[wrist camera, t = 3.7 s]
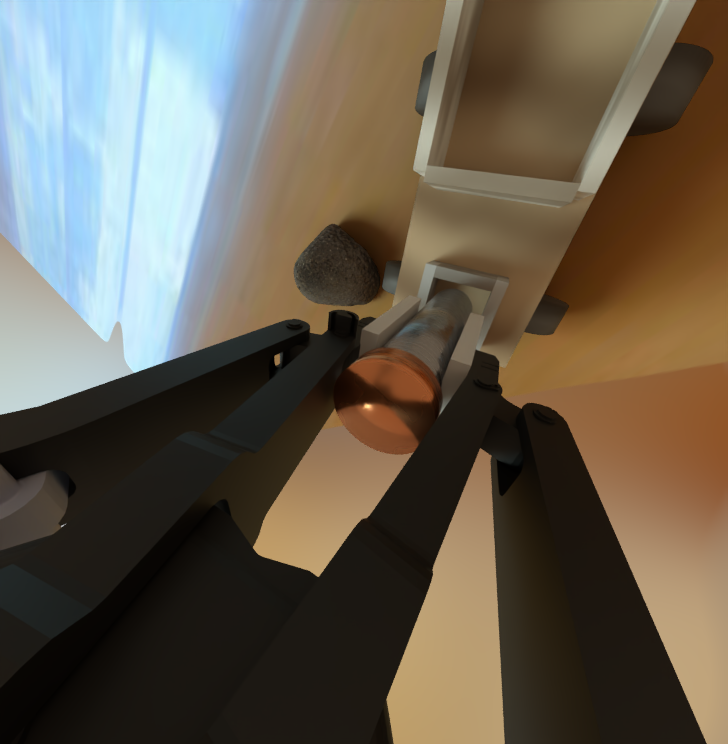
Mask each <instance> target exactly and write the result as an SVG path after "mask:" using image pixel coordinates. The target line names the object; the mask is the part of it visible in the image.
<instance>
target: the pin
mask: <svg viewBox="0 0 728 744" xmlns="http://www.w3.org/2000/svg"><path fill="white" fill-rule="evenodd" d="M470 313H472V302H471V300H470V298H469V297H468V295H467V294H466V293H464V292H463V291H461V290H458V289H452V288H451V289H445V290H442V291H440V292H439V293H438V294H436V295H435V296H434V297H433V298H432V299H431V300H430V301H429V302H428V303H427V304H426V305H425V306H424V307H423V308H422V309H421V310H420V311H419V312H418V313H417V314H415V315H414V316H413V317H412V318H411V319H410V320H409V321H408V322H407V323H406V324H405V325H404V326H403V327H402V328H401V329H400V330H399V331H398V332H397V333H396V334H395V335H394V336H393V337H392V338H390V339H389V340H388V341H387V342H386V343H385V344H384V345H383V346H382V347H381V348H376V349H372V350H370V351H367V352H366V353H364V354H362V355H361V356H360V357H359V358H358V359H357V360H356V361H354V362H353V363H352V364H351V365H350V366H349V367H348V368H346V369H345V370H344V371H343V372H342V373H341V374H340V375H339V377H338V379H337V380H336V383H335V386H334V391H333V399H334V405H335V409H336V412H337V414H338V416H339V418H340V420H341V421H342V423H343V425H344V426H345V427H346V429H347V430H348V431H349V432H350V433H351V434H352V435H353V436H354V437H355V438H357V439H358V440H359V441H360V442H362V443H364V444H365V445H367V446H369V447H370V448H373V449H375V450H377V451H380V452H384V453H389V454H408V453H412V452H414V451H415V450H416V448H417V447H418V445H419V444H420V443H421V441H422V440H423V438H424V437H425V435H426V434H427V432H428V431H429V430H430V428H431V427H432V425H433V424H434V422H435V421H436V420H437V418H438V417H439V415H440V412H441V409H442V403H443V395H442V390H441V386H442V380H443V377H444V375H445V372H446V369H447V367H448V364H449V362H450V359H451V357H452V354H453V352H454V350H455V347H456V345H457V343H458V341H459V338H460V336H461V334H462V331H463V329H464V327H465V325H466V322H467V320H468V318H469V315H470Z"/></svg>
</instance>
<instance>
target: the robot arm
mask: <svg viewBox="0 0 728 744" xmlns="http://www.w3.org/2000/svg"><path fill="white" fill-rule="evenodd" d="M420 302H421V298H418V297H414V296H410V295H409V296H408V297H406V298H405V299H404V300H402V301H401V302H399V303H398V304H397V305H395V306H394V307H392V308H391V309H390V310H388V311H387V312H385V313H384V314H383V315H381V316H380V317H378V318H377V319H376V318H373V317H366V318H362V319H361V320H359V317H358V315H356V314H355V313H353V312H350V311H345V310H334V311H331V312H329V320H328V330H327V331H326V332H325V333H324V334H322V335H319V334H313V333H310V325H309V324H308V323H306V322H304V321H301V320H298V319H292V320H285V321H282V322H279V323H276V324H273V325H270V326H267V327H265V328H262V329H259V330H256V331H253V332H250V333H247V334H245V335H242V336H239V337H236V338H233V339H230V340H227V341H225V342H222V343H219V344H216V345H213V346H210V347H207V348H205V349H202V350H199V351H196V352H193V353H190V354H187V355H185V356H182V357H179V358H176V359H173V360H170V361H167V362H165V363H162V364H159V365H156V366H153V367H150V368H147V369H145V370H142V371H139V372H136V373H133V374H130V375H128V376H125V377H122V378H119V379H116V380H113V381H110V382H107V383H105V384H102V385H99V386H96V387H93V388H90V389H87V390H85V391H82V392H79V393H76V394H73V395H70V396H67V397H64V398H62V399H59V400H56V401H53V402H50V403H47V404H45V405H42V406H39V407H34V408H30V409H25V410H21V411H16V412H12V413H7V414H2V415H0V744H393V737H392V731H391V725H390V718H389V712H388V706H387V701H386V699H387V696H388V693H389V690H390V688H391V685H392V683H393V680H394V678H395V675H396V673H397V670H398V667H399V665H400V662H401V660H402V657H403V654H404V652H405V649H406V646H407V644H408V641H409V638H410V636H411V633H412V630H413V628H414V626H415V623H416V621H417V618H418V615H419V613H420V610H421V607H422V605H423V602H424V600H425V597H426V594H427V592H428V589H429V586H430V583H431V579H432V576H433V571H432V569H433V565H434V563H435V560H436V557H437V555H438V552H439V550H440V547H441V545H442V542H443V540H444V537H445V535H446V532H447V530H448V527H449V524H450V522H451V520H452V517H453V515H454V512H455V510H456V507H457V504H458V502H459V500H460V497H461V494H462V492H463V490H464V487H465V485H466V482H467V479H468V477H469V474H470V472H471V469H472V467H473V464H474V462H475V459H476V457H477V454H478V452H479V449H480V448H481V449H483V450H484V451H486V452H487V453H489V454H490V455H492V457H491V478H492V498H493V517H494V518H493V519H494V538H495V558H496V578H497V597H498V617H499V637H500V657H501V676H502V696H503V716H504V734H505V735H504V736H505V744H707V743H706V741H705V739H704V737H703V734H702V732H701V730H700V727H699V725H698V723H697V721H696V718H695V716H694V714H693V711H692V709H691V707H690V704H689V702H688V700H687V698H686V695H685V693H684V691H683V688H682V686H681V684H680V682H679V679H678V677H677V675H676V672H675V670H674V668H673V665H672V663H671V661H670V658H669V656H668V654H667V652H666V650H665V647H664V645H663V642H662V640H661V638H660V636H659V633H658V631H657V629H656V626H655V624H654V622H653V619H652V617H651V615H650V613H649V610H648V608H647V606H646V603H645V601H644V599H643V596H642V594H641V592H640V590H639V587H638V585H637V583H636V580H635V578H634V576H633V573H632V571H631V569H630V567H629V564H628V562H627V560H626V557H625V555H624V553H623V550H622V548H621V546H620V544H619V541H618V539H617V537H616V534H615V532H614V530H613V528H612V525H611V523H610V521H609V518H608V516H607V514H606V511H605V510H604V507H603V505H602V502H601V500H600V498H599V495H598V493H597V491H596V489H595V486H594V484H593V482H592V479H591V477H590V475H589V472H588V470H587V468H586V466H585V463H584V461H583V459H582V456H581V454H580V452H579V449H578V447H577V445H576V443H575V440H574V438H573V436H572V433H571V432H570V429H569V427H568V424H567V422H566V421H565V420H564V418H563V417H562V416H560V415H559V414H558V413H557V412H556V411H555V410H552V409H551V408H549V407H546V406H543V405H540V404H535V403H527V404H525V405H524V406H523V407H522V409H521V408H519V407H517V406H515V405H513V404H512V403H510V402H508V401H507V400H506V399H505V398H503V397H502V396H501V394H502V387H501V386H500V384H498V375H499V360H498V359H497V358H496V356H494V355H491V354H488V353H485V352H482V351H479V350H476V346H477V342H478V339H479V335H480V331H481V328H482V324H483V320H484V316H482V315H478V314H475V313H470V315H469V318H468V320H467V322H466V325H465V327H464V329H463V331H462V334H461V336H460V338H459V341H458V343H457V345H456V347H455V350H454V352H453V354H452V357H451V359H450V362H449V364H448V367H447V369H446V372H445V375H444V377H443V380H442V386H441V390H442V395H443V403H442V409H441V412H440V415H439V417H438V418H437V420H436V421H435V422H434V424H433V425H432V427H431V428H430V430H429V431H428V432H427V434H426V435H425V437H424V438H423V440H422V441H421V443H420V444H419V445H418V447H417V448H416V450H415V451H414V453H413V454H412V456H411V457H410V458H409V460H408V461H407V463H406V464H405V466H404V467H403V469H402V470H401V471H400V473H399V474H398V476H397V477H396V479H395V480H394V482H393V483H392V484H391V486H390V487H389V489H388V490H387V492H386V493H385V495H384V496H383V497H382V499H381V500H380V502H379V503H378V505H377V506H376V507H375V509H374V510H373V512H372V513H371V514H370V516H369V517H368V518H365V519H362V520H361V521H360V522H359V523H358V524H357V525H356V527H355V528H354V529H353V530H352V532H351V533H350V534H349V536H348V537H347V539H346V540H345V541H344V543H343V544H342V546H341V547H340V548H339V550H338V551H337V553H336V554H335V555H334V557H333V558H332V560H331V561H330V562H329V564H328V565H327V566H326V568H325V569H324V571H323V572H322V573H321V575H320V576H319V577H317V576H315V575H314V574H313V573H311V572H310V571H308V570H304V569H301V568H298V567H294V566H291V565H288V564H284V563H281V562H278V561H274V560H271V559H268V558H264V557H262V556H260V555H258V554H257V553H256V552H255V550H254V549H253V546H254V544H255V542H256V540H257V538H258V535H259V533H260V529H261V526H262V523H263V520H264V518H265V516H266V514H267V512H268V511H269V509H270V507H271V506H272V504H273V503H274V501H275V500H276V498H277V497H278V495H279V494H280V492H281V490H282V489H283V487H284V486H285V484H286V483H287V481H288V480H289V478H290V477H291V475H292V473H293V472H294V470H295V469H296V467H297V465H298V464H299V462H300V461H301V460H302V458H303V456H304V455H305V453H306V452H307V450H308V449H309V447H310V446H311V444H312V442H313V441H314V439H315V438H316V436H317V435H318V433H319V432H320V430H321V429H322V427H323V426H324V424H325V422H326V421H327V419H328V418H329V416H330V415H331V413H332V412H333V410H334V409H335V405H334V399H333V391H334V386H335V383H336V380H337V379H338V377H339V375H340V374H341V373H342V372H343V371H344V370H345V369H346V368H348V367H349V366H350V365H351V364H352V363H353V362H354V361H356V360H357V359H358V358H359V357H360V356H361V355H362V354H364V353H366V352H367V351H370V350H372V349H376V348H381V347H382V346H383V345H384V344H385V343H386V342H387V341H388V340H389V339H390V338H392V337H393V336H394V335H395V334H396V333H397V332H398V331H399V330H400V329H401V328H402V327H403V326H404V325H405V324H406V323H407V322H408V321H409V320H410V319H411V318H412V317H413V316H414V315H415V314H417V313H418V310H419V306H420ZM279 353H280V364H279V365H276V366H275V362H274V356H275V355H277V354H279ZM66 523H67V524H66ZM64 524H66V525H64ZM61 525H64V526H63V527H62V528H61Z"/></svg>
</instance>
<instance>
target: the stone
mask: <svg viewBox="0 0 728 744" xmlns="http://www.w3.org/2000/svg"><path fill="white" fill-rule="evenodd" d="M294 278H295V282H296V285H297V287H298V289H299V290H300V292H301V293H302V294H303V295H304V296H305V297H306V298H307V299H309V300H311V301H313V302H314V303H318V304H326V305H339V306H353V305H364V304H367V303H369V302H370V301H371V300H372V299H373V298H374V296H375V295H376V293H377V291H378V289H379V286H380V276H379V273H378V269H377V266H376V265H375V264H374V262H373V260H372V258H370V256H369V255H368V253H367V251H366V249H364V248H363V247H361V246H360V245H359V244H358V243H356V242H355V241H354V239H353V238H351V237H350V236H349V235H348V234H347V233H346V232H345V231H343V230H342V229H341V228H340V227H339V226H338V225H336V224H331V225H329V226H327V227H326V228H325V229H324V230H323V231H322V232H321V233H320V234H319V235H318V236H317V237H316V238H315V239H314V241H313V242H312V243H311V244H310V245H309V246H308V247H307V248H306V249H305V250H304V251H303V253H302V254H301V255H300V257H299V258H298V260H297V261H296V263H295V267H294Z"/></svg>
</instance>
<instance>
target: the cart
mask: <svg viewBox="0 0 728 744" xmlns="http://www.w3.org/2000/svg"><path fill="white" fill-rule="evenodd" d="M696 1H697V0H447V2H446V7H445V12H444V17H443V22H442V27H441V32H440V37H439V42H438V47H437V50H436V51H434V52H432V53H430V54H429V55H428V56H427V57H426V58H425V60H424V62H423V68H422V73H421V79H420V84H419V89H418V95H417V100H416V106H415V109H416V111H417V112H418V113H419V114H420V115H421V116H423V122H422V127H421V132H420V137H419V142H418V147H417V152H416V157H415V162H414V167H413V170H414V171H415V172H417V173H419V174H420V179H419V184H418V189H417V193H416V198H415V203H414V207H413V212H412V217H411V221H410V226H409V231H408V235H407V240H406V245H405V249H404V254H403V259H402V261H387V262H386V268H385V273H384V279H383V284H382V288H383V289H384V290H386V291H387V292H389V293H391V294H394V295H395V296H394V301H393V305H392V307H394V306H395V305H397V304H398V303H399V302H401V301H402V300H404V299H405V298H406V297H408V296H409V295H410V296H414V297H418V298H421V302H420V306H419V310H418V312H419V311H420V310H421V309H422V308H423V307H424V306H425V305H426V304H427V303H428V302H429V301H430V300H431V299H432V298H433V297H434V296H435V295H436V294H438V293H439V292H440V291H442V290H445V289H451V288H452V289H458V290H461V291H463V292H464V293H466V294H467V295H468V297H469V298H470V300H471V302H472V313H475V314H478V315H482V316H484V320H483V324H482V328H481V331H480V335H479V339H478V342H477V346H476V350H479V351H482V352H485V353H488V354H491V355H494V356H496V358H497V359H498V360H499V366H501V367H504V368H505V367H506V365H507V363H508V361H509V360H510V358H511V356H512V354H513V352H514V350H515V348H516V346H517V344H518V342H519V340H520V338H521V337H522V335H523V333H524V332H527V333H531V334H538V335H551V334H553V333H554V331H555V330H556V328H557V326H558V324H559V323H560V321H561V319H562V318H563V316H564V314H565V313H566V311H567V309H568V307H569V305H568V304H566V303H565V302H563V301H561V300H559V299H556V298H554V297H551V296H548V295H545V294H544V292H545V291H546V289H547V287H548V285H549V283H550V281H551V279H552V277H553V275H554V273H555V271H556V269H557V267H558V266H559V264H560V262H561V260H562V258H563V256H564V254H565V252H566V250H567V248H568V246H569V244H570V243H571V241H572V239H573V237H574V235H575V233H576V231H577V229H578V227H579V225H580V223H581V221H582V220H583V218H584V216H585V214H586V212H587V210H588V208H589V206H590V204H591V202H592V200H593V198H594V197H595V195H596V193H597V191H598V189H599V187H600V185H601V183H602V181H603V179H604V177H605V175H606V174H607V172H608V170H609V168H610V166H611V164H612V162H613V160H614V158H615V156H616V154H617V152H618V151H619V149H620V147H621V145H622V143H623V141H624V139H625V137H626V136H635V135H644V134H651V133H656V132H660V131H663V130H666V129H669V128H671V127H673V126H674V125H676V124H677V122H678V121H679V119H680V117H681V116H682V114H683V112H684V111H685V109H686V107H687V106H688V104H689V102H690V100H691V99H692V97H693V95H694V94H695V92H696V90H697V89H698V87H699V85H700V83H701V82H702V80H703V78H704V77H705V75H706V73H707V72H708V70H709V68H710V66H711V65H712V63H713V56H712V54H711V53H710V52H709V51H708V50H706V49H705V48H702V47H699V46H696V45H692V44H685V43H675V41H676V39H677V37H678V35H679V34H680V32H681V30H682V28H683V26H684V24H685V22H686V20H687V18H688V16H689V14H690V12H691V11H692V9H693V7H694V5H695V3H696Z"/></svg>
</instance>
